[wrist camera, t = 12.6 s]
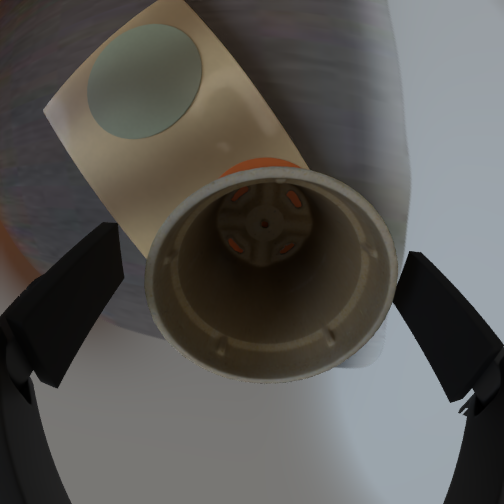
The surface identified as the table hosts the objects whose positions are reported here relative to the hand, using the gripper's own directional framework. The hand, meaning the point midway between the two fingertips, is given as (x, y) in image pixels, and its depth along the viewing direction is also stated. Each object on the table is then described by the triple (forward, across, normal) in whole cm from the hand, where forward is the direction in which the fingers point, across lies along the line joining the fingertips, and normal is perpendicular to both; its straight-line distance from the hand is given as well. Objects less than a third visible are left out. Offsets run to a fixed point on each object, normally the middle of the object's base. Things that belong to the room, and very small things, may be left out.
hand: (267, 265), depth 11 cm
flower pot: (+7, 0, 0) cm, 7 cm away
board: (+8, -6, +3) cm, 10 cm away
